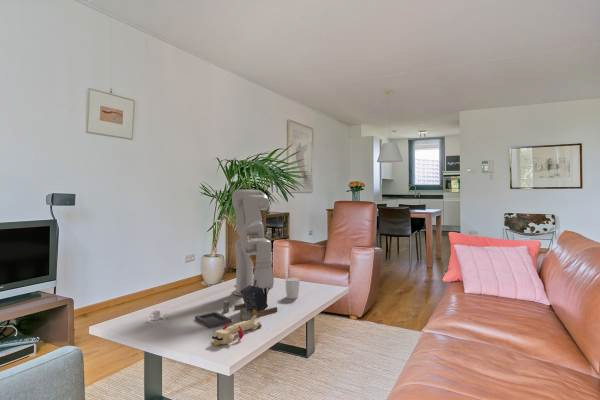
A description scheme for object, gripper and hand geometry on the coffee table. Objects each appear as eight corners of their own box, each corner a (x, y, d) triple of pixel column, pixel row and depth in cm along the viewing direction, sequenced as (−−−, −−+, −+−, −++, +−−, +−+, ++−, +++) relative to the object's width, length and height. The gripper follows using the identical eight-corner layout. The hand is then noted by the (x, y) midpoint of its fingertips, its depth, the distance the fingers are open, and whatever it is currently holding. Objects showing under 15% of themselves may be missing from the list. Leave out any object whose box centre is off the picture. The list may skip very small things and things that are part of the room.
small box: (269, 306, 171) (263, 287, 169) (259, 314, 167) (253, 295, 164) (255, 302, 179) (249, 284, 176) (245, 309, 174) (239, 291, 171)
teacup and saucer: (169, 316, 164) (169, 308, 163) (166, 322, 156) (166, 313, 156) (149, 318, 162) (149, 309, 162) (145, 324, 154) (145, 315, 154)
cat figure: (246, 327, 154) (204, 342, 132) (248, 307, 154) (205, 319, 133) (265, 332, 148) (224, 348, 127) (266, 311, 149) (225, 323, 128)
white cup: (283, 296, 198) (283, 278, 198) (296, 294, 202) (296, 277, 201) (288, 299, 191) (288, 281, 191) (301, 298, 194) (301, 280, 194)
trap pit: (194, 319, 159) (194, 316, 159) (215, 314, 166) (215, 311, 166) (210, 328, 148) (210, 324, 148) (231, 322, 155) (231, 319, 155)
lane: (223, 311, 170) (223, 301, 170) (257, 303, 184) (257, 294, 184) (242, 321, 157) (242, 309, 157) (277, 311, 171) (277, 301, 171)
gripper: (270, 262, 183) (270, 297, 183) (247, 265, 173) (246, 303, 173) (280, 264, 178) (280, 300, 177) (256, 267, 167) (256, 306, 167)
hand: (263, 301), depth 175 cm, fingers closed
